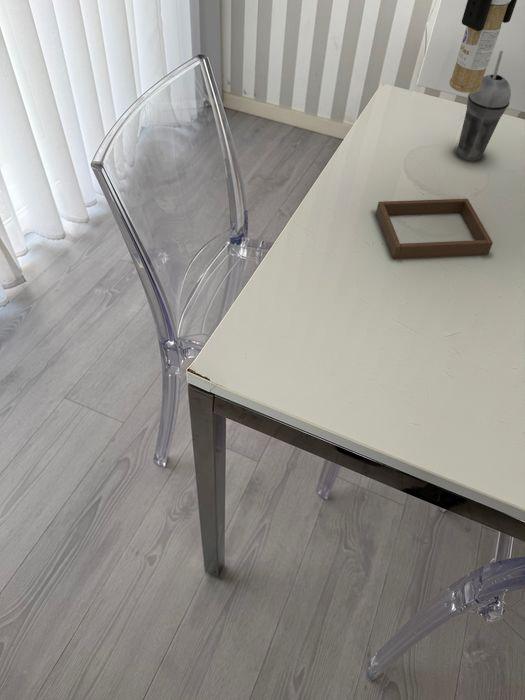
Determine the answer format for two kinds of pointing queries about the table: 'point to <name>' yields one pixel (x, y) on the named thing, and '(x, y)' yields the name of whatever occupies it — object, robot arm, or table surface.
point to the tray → (433, 248)
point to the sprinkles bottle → (477, 50)
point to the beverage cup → (483, 114)
